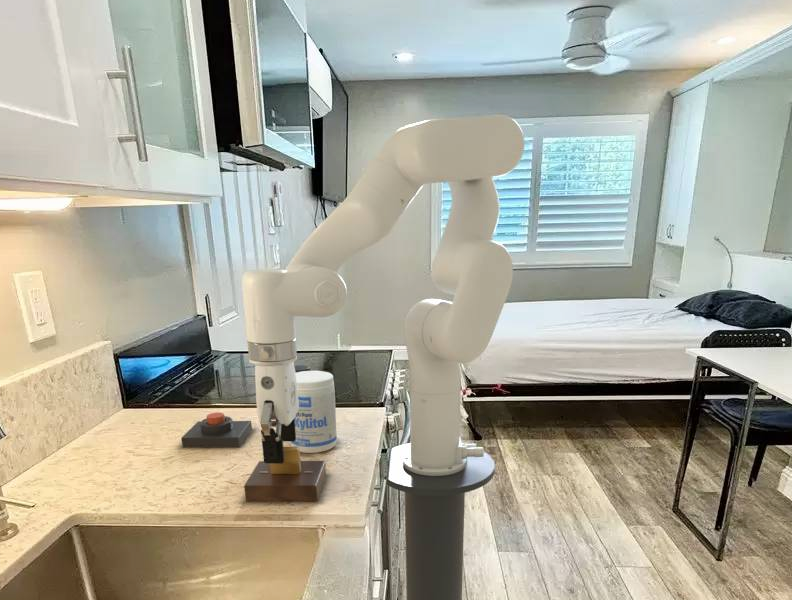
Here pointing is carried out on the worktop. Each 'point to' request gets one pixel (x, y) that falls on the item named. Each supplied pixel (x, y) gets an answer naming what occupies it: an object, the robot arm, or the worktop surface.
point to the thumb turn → (288, 462)
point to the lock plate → (285, 483)
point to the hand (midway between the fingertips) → (280, 451)
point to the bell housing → (217, 434)
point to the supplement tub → (315, 412)
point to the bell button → (215, 418)
